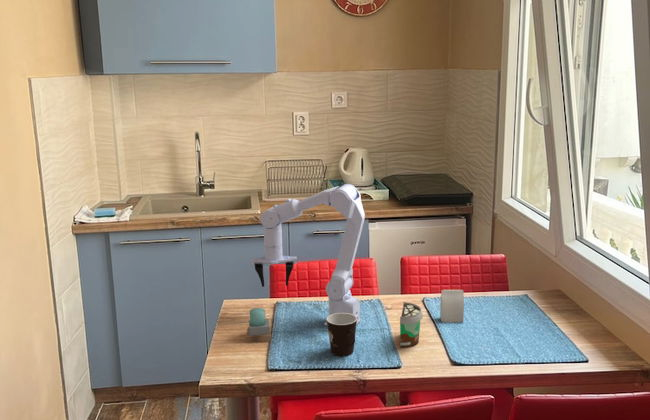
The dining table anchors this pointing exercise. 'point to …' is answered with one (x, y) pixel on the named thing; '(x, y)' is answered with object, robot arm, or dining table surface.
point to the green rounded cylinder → (257, 317)
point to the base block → (257, 337)
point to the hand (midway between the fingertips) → (275, 285)
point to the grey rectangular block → (452, 306)
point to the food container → (410, 325)
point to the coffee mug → (342, 333)
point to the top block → (260, 329)
